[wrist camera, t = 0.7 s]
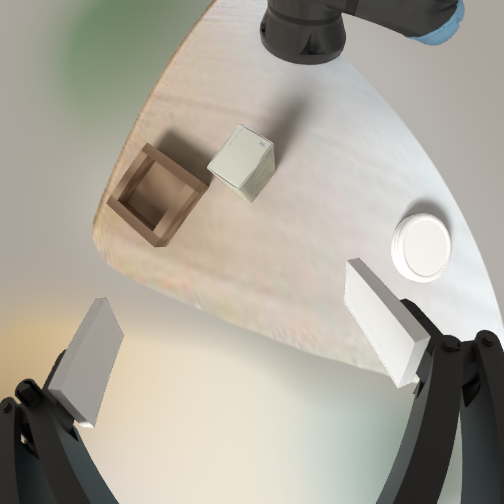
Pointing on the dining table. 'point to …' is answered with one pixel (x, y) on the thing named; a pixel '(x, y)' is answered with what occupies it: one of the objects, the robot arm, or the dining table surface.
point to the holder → (156, 196)
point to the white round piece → (421, 247)
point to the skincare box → (244, 162)
